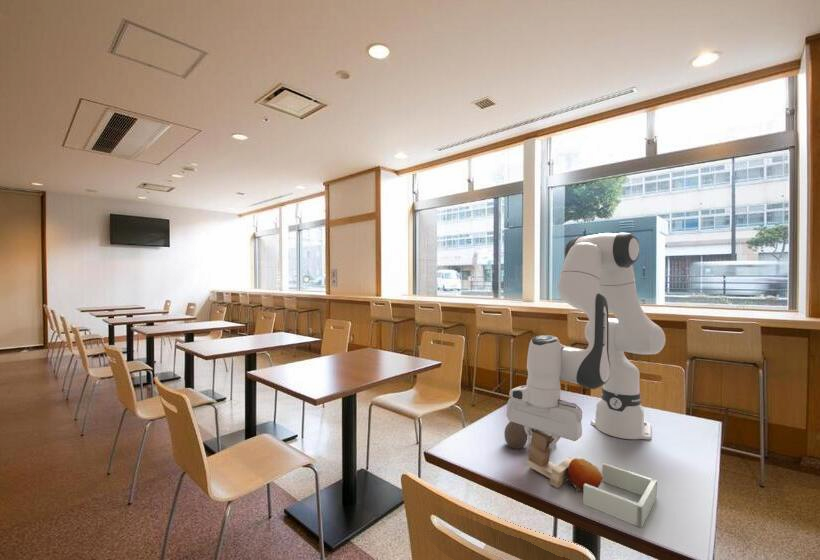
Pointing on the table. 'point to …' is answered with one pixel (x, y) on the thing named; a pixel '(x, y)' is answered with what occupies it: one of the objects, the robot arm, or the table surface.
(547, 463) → the angled wooden block structure
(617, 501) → the tray
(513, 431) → the vase
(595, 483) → the fruit
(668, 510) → the table surface
